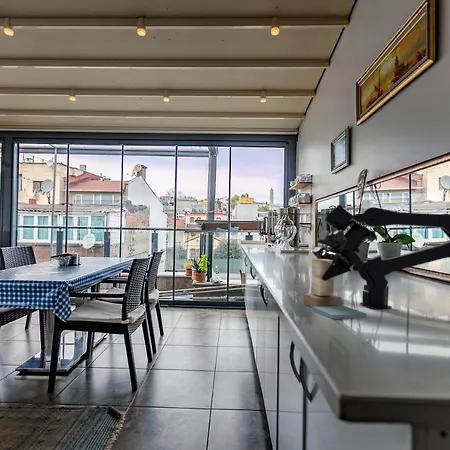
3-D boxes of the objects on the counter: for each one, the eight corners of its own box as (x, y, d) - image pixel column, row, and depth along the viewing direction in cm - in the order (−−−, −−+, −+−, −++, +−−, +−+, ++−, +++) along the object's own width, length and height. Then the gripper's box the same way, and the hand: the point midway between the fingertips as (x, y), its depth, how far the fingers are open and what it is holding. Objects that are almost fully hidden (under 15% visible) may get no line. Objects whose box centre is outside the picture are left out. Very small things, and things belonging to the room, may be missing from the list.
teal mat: (344, 309, 97) (344, 305, 97) (366, 317, 89) (366, 313, 89) (312, 310, 94) (313, 306, 94) (332, 319, 86) (332, 315, 86)
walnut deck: (326, 302, 105) (326, 293, 105) (340, 308, 99) (341, 297, 99) (303, 303, 103) (303, 293, 103) (316, 309, 96) (316, 298, 96)
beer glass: (330, 294, 120) (331, 251, 121) (324, 297, 114) (325, 252, 115) (310, 292, 124) (312, 250, 124) (304, 294, 118) (305, 250, 118)
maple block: (324, 292, 104) (325, 259, 104) (333, 295, 99) (334, 260, 100) (311, 292, 102) (312, 259, 102) (319, 295, 98) (320, 260, 98)
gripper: (318, 222, 111) (286, 255, 108) (356, 221, 93) (319, 261, 90) (338, 246, 113) (307, 280, 110) (379, 250, 96) (344, 291, 92)
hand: (318, 278), depth 101 cm, fingers closed on maple block, 4 cm apart
